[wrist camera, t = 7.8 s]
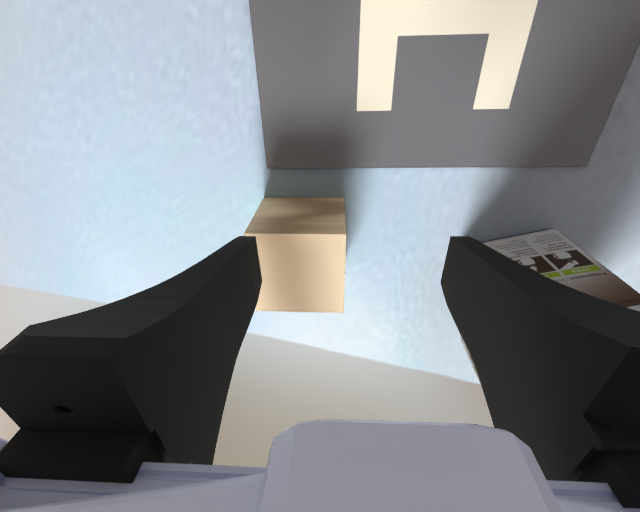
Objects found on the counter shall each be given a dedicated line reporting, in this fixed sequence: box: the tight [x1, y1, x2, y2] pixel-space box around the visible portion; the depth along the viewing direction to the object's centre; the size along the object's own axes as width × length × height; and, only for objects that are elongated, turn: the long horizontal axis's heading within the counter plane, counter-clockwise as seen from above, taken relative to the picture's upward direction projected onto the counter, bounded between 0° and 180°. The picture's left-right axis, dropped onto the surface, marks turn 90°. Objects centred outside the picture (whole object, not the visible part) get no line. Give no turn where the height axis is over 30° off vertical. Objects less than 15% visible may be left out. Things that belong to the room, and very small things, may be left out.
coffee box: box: [461, 229, 640, 381], centre depth 15 cm, size 9×6×16 cm
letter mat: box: [249, 0, 640, 168], centre depth 14 cm, size 18×14×1 cm
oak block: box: [244, 197, 346, 313], centre depth 18 cm, size 5×5×5 cm
